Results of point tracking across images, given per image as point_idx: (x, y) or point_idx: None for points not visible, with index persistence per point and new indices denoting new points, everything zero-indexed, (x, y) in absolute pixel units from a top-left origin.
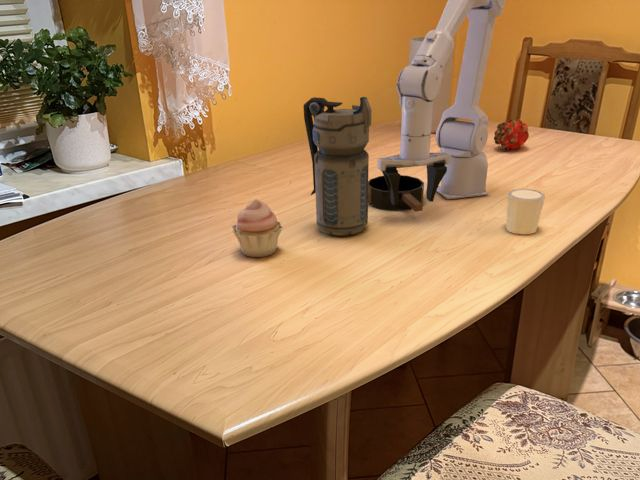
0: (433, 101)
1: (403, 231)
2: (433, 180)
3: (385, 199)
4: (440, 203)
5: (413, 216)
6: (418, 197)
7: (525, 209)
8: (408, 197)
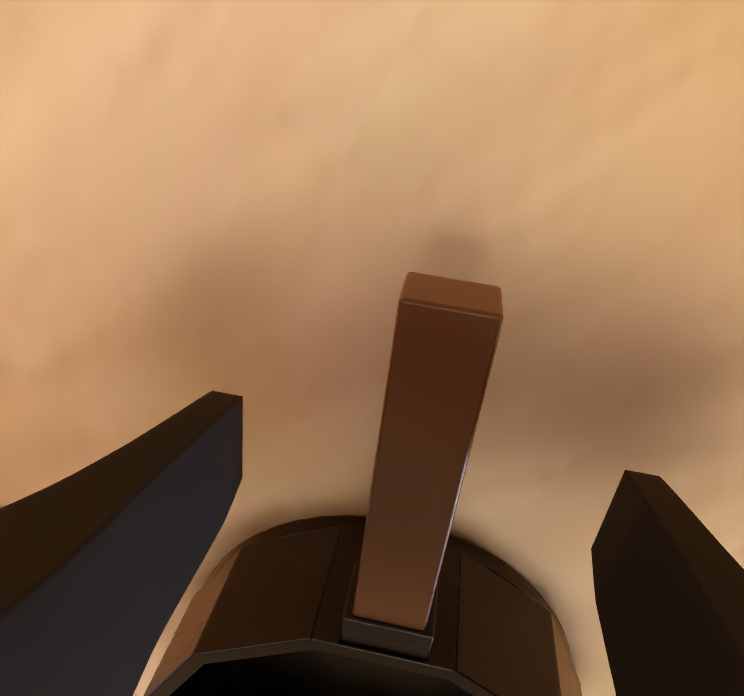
0: None
1: (728, 100)
2: (86, 571)
3: (535, 655)
4: None
5: None
6: (253, 580)
7: None
8: (422, 548)
